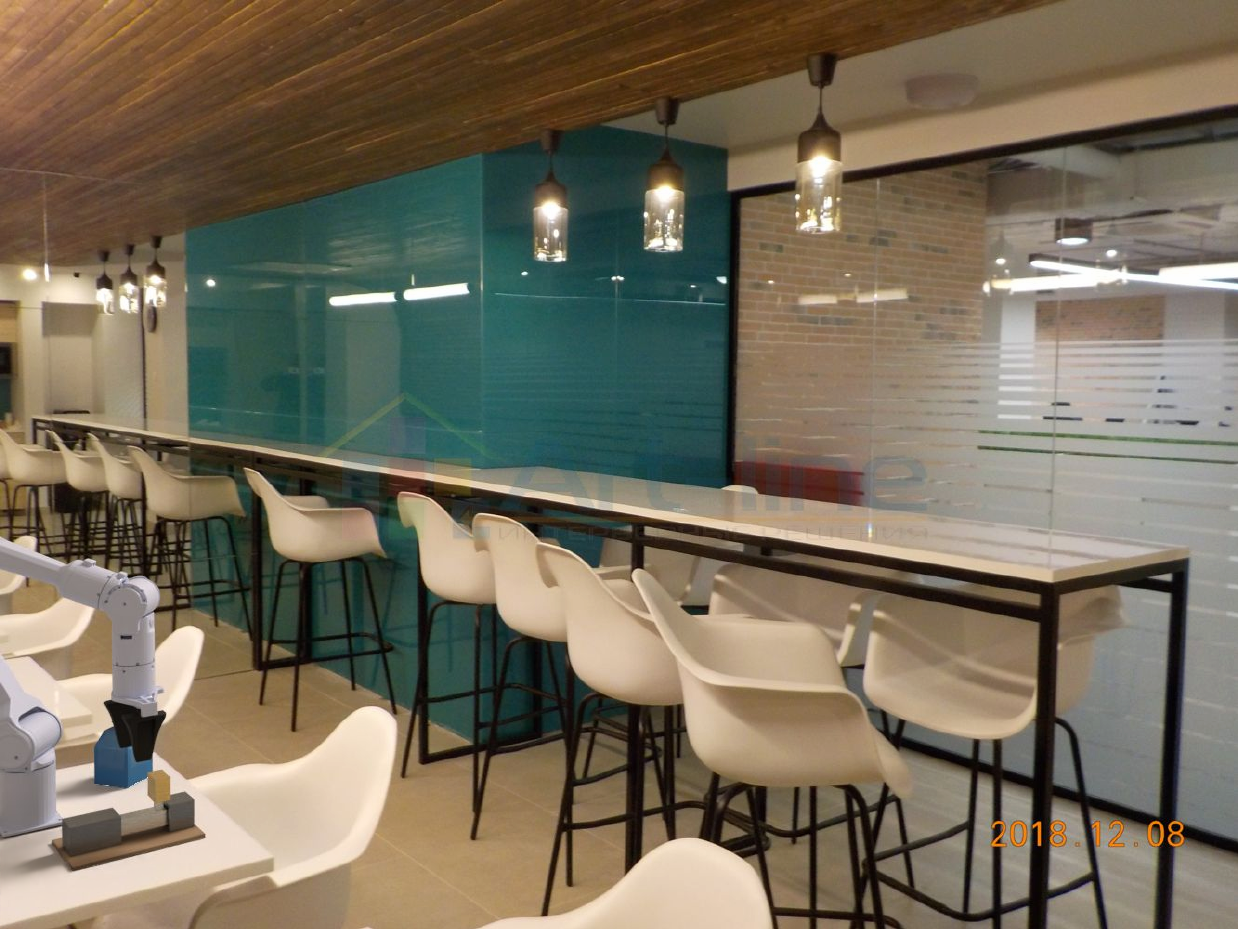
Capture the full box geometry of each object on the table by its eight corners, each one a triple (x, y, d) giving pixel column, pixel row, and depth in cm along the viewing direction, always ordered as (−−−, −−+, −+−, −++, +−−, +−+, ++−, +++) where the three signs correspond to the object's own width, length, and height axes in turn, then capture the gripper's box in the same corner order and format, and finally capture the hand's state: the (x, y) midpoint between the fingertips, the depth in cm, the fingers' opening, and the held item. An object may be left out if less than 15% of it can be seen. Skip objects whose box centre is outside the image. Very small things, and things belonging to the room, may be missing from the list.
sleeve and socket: (62, 847, 144) (62, 818, 144) (185, 818, 155) (185, 791, 155) (69, 857, 141) (69, 828, 141) (194, 826, 152) (194, 799, 152)
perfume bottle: (128, 788, 167) (127, 714, 167) (94, 784, 169) (93, 711, 168) (152, 775, 173) (152, 703, 173) (119, 771, 175) (119, 700, 174)
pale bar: (106, 831, 148) (105, 781, 147) (178, 814, 154) (178, 766, 154) (113, 839, 145) (113, 788, 145) (187, 821, 152) (187, 773, 151)
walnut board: (52, 843, 147) (51, 839, 147) (179, 813, 158) (179, 810, 158) (72, 871, 138) (72, 867, 138) (205, 837, 150) (205, 834, 150)
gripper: (179, 667, 150) (180, 760, 151) (146, 648, 161) (148, 735, 162) (126, 675, 145) (128, 771, 146) (97, 655, 156) (98, 744, 157)
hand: (135, 753), depth 154 cm, fingers open, 7 cm apart
